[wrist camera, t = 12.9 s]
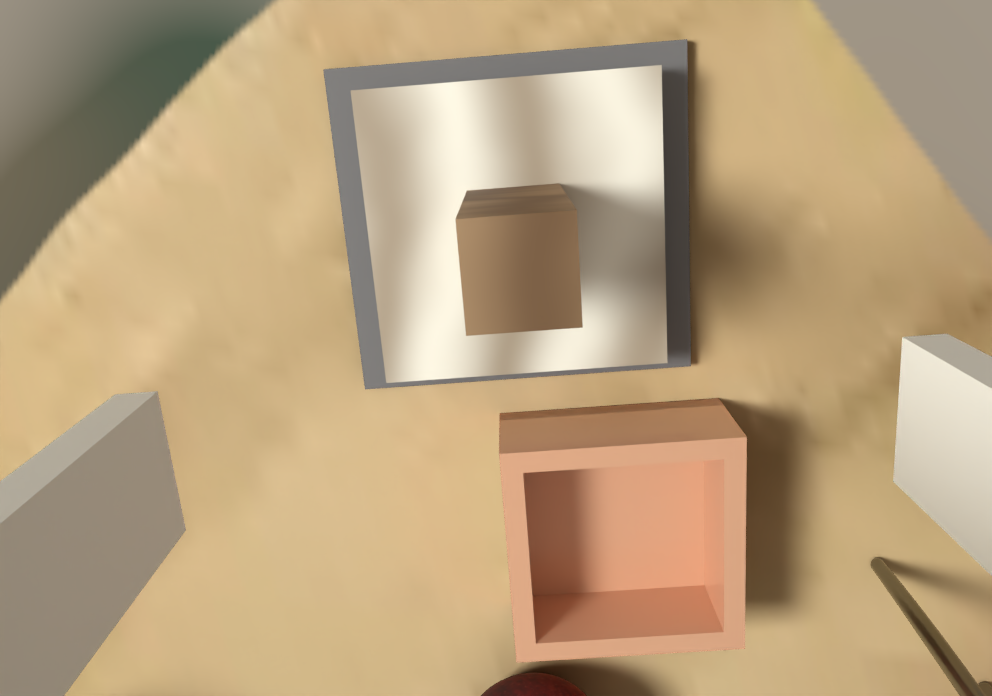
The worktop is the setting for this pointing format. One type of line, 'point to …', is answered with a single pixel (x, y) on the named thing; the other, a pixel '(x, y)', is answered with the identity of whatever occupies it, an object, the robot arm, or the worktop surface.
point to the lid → (516, 222)
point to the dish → (625, 529)
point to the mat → (507, 66)
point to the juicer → (930, 635)
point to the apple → (534, 686)
